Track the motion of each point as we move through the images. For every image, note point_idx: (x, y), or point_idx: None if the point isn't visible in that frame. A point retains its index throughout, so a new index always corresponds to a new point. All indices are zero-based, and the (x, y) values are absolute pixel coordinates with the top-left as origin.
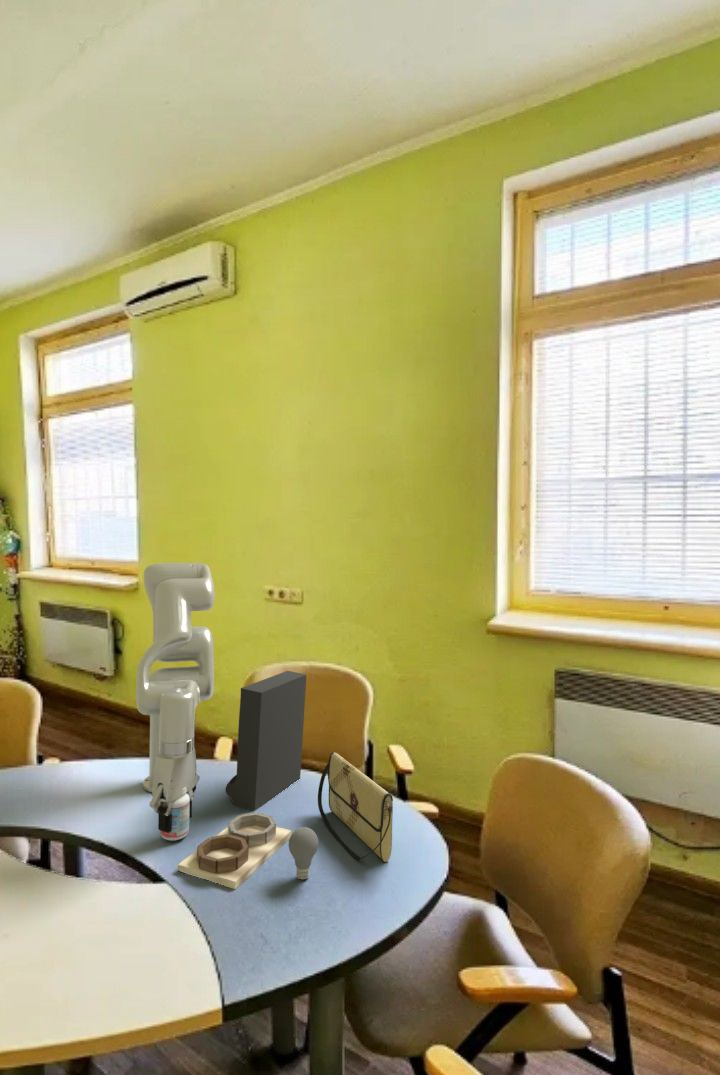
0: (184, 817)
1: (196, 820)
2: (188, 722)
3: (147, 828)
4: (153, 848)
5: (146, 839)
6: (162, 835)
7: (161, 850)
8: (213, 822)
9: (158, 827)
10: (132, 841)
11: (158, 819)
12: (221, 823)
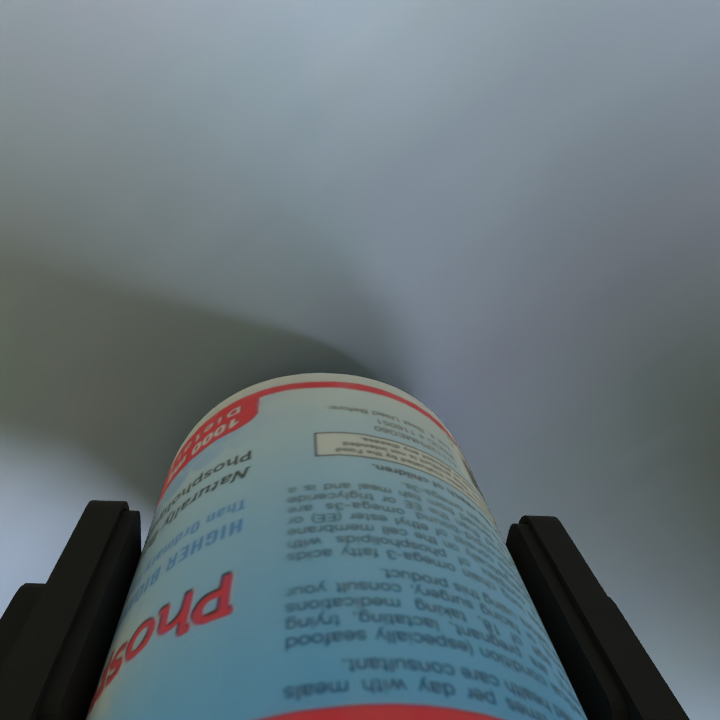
0: None
1: (682, 460)
2: None
3: (391, 54)
4: (44, 415)
5: (160, 223)
6: (173, 462)
7: (56, 505)
8: (669, 603)
9: (83, 515)
10: (37, 81)
11: (41, 597)
12: (663, 661)
